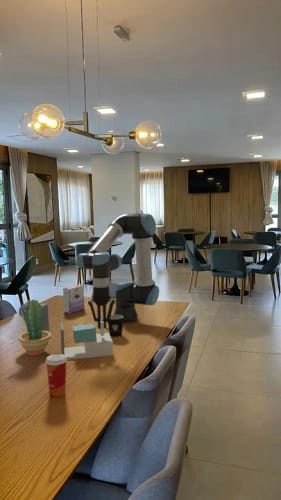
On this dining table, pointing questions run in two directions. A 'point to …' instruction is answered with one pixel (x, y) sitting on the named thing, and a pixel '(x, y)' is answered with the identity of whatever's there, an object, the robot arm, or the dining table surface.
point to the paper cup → (56, 374)
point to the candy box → (73, 298)
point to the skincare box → (45, 318)
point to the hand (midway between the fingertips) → (102, 334)
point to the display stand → (88, 347)
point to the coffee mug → (115, 325)
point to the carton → (84, 333)
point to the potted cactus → (33, 329)
